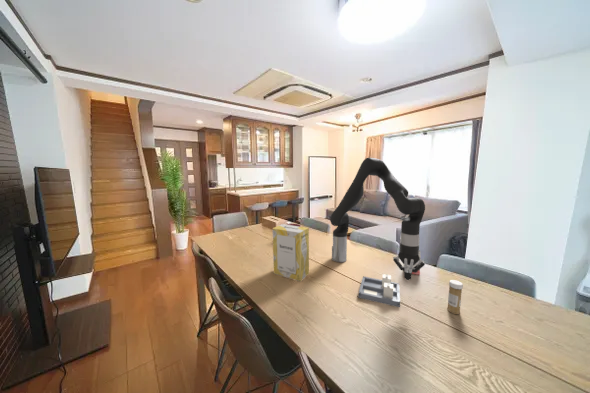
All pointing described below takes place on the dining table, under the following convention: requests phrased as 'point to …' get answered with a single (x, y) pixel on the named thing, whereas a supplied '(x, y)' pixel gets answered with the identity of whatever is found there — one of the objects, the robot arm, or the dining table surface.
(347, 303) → the dining table surface
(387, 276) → the tab far
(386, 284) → the tab near
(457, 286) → the sprinkles bottle
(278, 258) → the pasta box
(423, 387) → the dining table surface
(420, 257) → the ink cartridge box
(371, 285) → the switch bank
